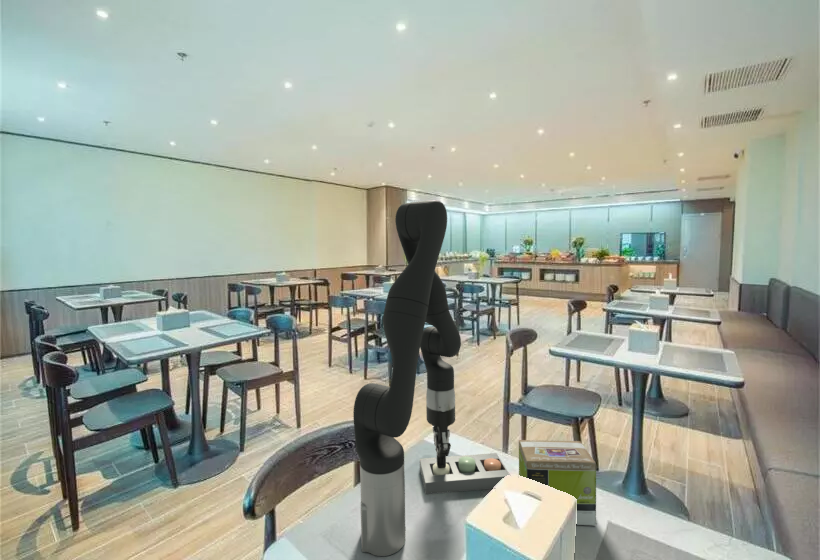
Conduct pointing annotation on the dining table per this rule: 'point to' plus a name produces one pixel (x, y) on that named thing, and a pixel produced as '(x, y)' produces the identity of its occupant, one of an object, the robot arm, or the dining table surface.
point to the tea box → (562, 471)
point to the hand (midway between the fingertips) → (441, 466)
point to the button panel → (460, 475)
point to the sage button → (466, 465)
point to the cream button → (440, 470)
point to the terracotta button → (492, 464)
